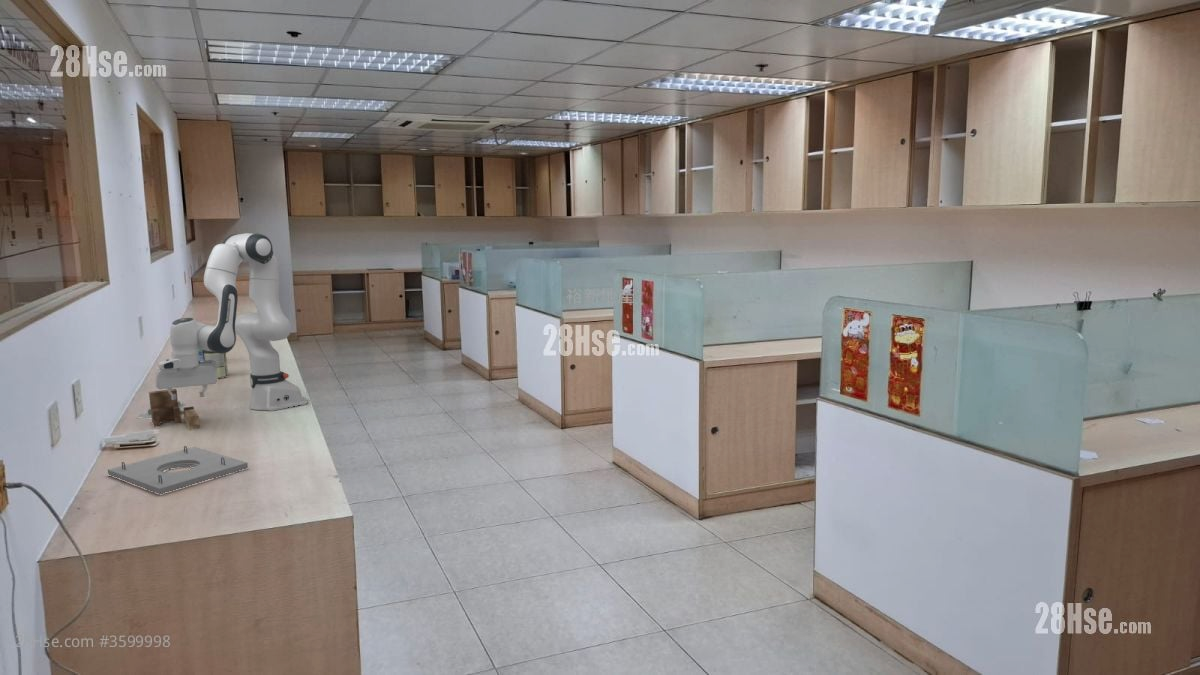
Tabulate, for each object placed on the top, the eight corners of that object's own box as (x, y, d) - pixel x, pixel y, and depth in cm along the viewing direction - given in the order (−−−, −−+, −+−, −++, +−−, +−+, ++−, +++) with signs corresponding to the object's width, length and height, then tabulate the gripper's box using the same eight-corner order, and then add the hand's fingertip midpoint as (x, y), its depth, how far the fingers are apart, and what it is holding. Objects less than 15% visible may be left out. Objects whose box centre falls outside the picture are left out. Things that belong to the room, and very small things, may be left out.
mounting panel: (193, 439, 250) (246, 455, 234) (195, 454, 250) (248, 470, 234) (106, 462, 227) (158, 480, 211) (108, 477, 228) (160, 497, 212)
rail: (194, 420, 289) (193, 406, 288) (199, 428, 279) (198, 413, 278) (184, 422, 287) (183, 407, 286) (189, 430, 277) (188, 414, 276)
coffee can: (200, 378, 364) (198, 349, 362) (221, 374, 373) (219, 346, 370) (211, 380, 359) (208, 351, 356) (232, 377, 367) (230, 348, 364)
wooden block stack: (178, 418, 292) (175, 388, 290) (181, 423, 286) (178, 392, 284) (151, 422, 287) (148, 391, 285) (154, 427, 280) (150, 396, 278)
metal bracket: (157, 397, 304) (190, 398, 301) (162, 409, 306) (194, 411, 303) (131, 415, 291) (165, 417, 288) (136, 428, 293) (170, 430, 291)
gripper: (215, 358, 287) (217, 393, 289) (153, 363, 275) (156, 399, 277) (218, 360, 282) (220, 396, 284) (155, 365, 270) (158, 402, 272)
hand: (188, 398), depth 280 cm, fingers open, 8 cm apart
